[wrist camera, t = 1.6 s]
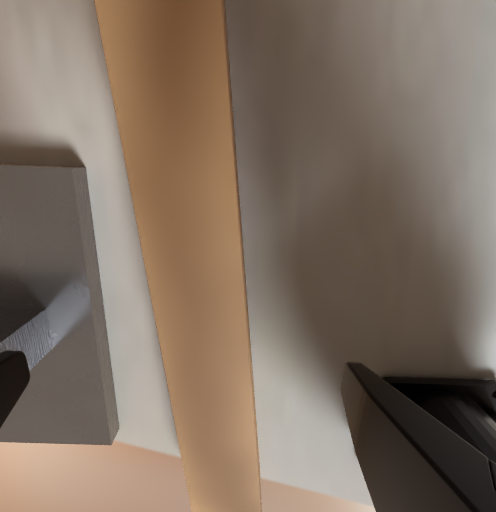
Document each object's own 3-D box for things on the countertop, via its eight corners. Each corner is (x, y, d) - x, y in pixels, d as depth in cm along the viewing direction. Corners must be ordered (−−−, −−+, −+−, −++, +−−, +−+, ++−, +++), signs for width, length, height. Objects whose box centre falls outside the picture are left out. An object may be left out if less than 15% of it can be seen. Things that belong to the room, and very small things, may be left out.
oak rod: (221, -40, 10) (211, -116, 7) (259, 460, 18) (261, 518, 15) (122, -32, 10) (74, -104, 7) (202, 463, 18) (193, 521, 15)
